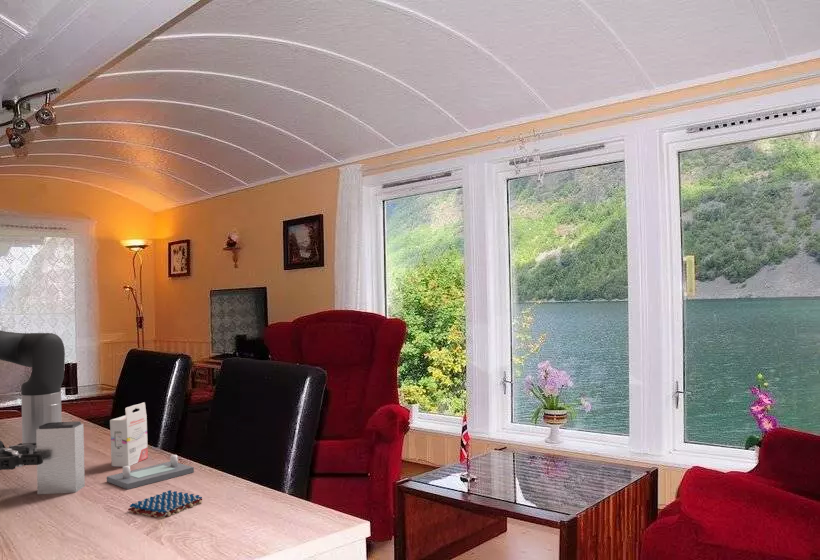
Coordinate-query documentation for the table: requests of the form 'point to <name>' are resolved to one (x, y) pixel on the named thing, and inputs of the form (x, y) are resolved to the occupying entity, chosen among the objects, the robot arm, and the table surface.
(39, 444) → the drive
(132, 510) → the woven mat
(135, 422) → the ink cartridge box
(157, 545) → the table surface
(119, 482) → the pin tray
